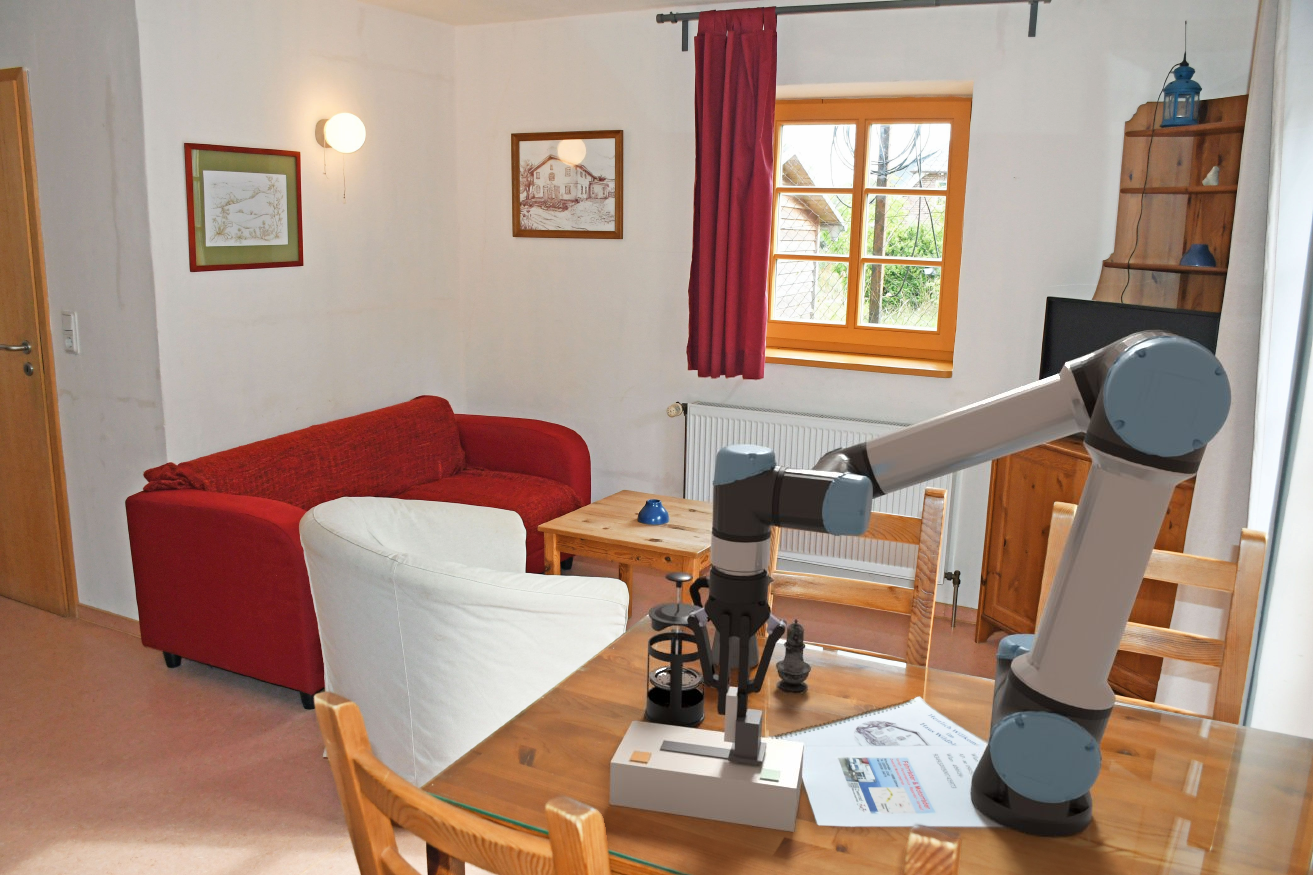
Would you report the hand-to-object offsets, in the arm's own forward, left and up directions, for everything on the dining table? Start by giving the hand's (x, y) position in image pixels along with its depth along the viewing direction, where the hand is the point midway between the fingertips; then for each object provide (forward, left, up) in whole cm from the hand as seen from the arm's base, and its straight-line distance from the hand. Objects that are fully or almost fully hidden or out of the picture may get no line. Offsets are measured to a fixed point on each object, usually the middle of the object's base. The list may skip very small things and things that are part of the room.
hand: (731, 737), depth 132 cm
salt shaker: (-5, -36, -9) cm, 38 cm away
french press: (+12, -21, -9) cm, 26 cm away
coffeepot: (+7, -44, -9) cm, 46 cm away
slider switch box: (+3, 0, -9) cm, 9 cm away
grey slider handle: (-2, 0, -2) cm, 3 cm away
